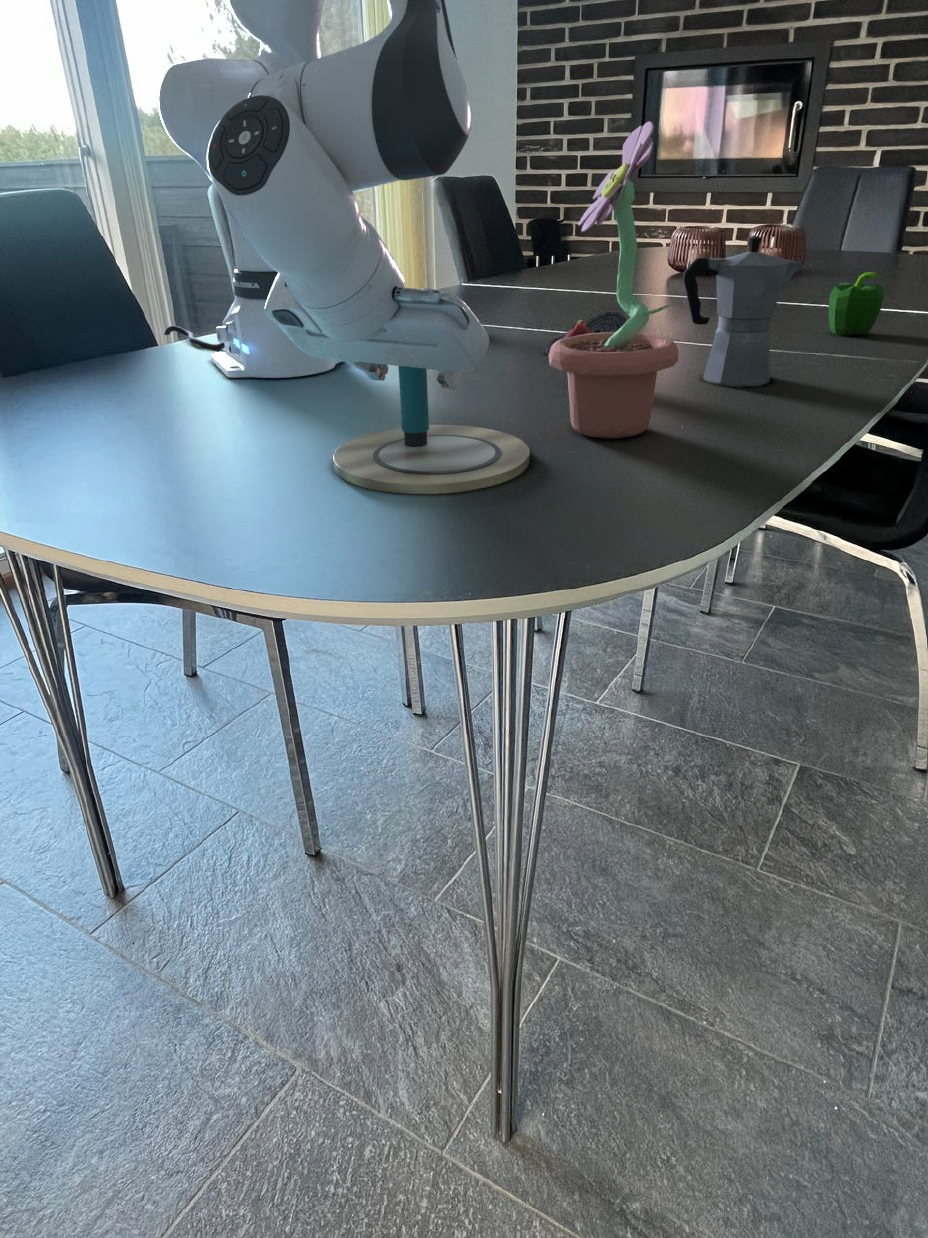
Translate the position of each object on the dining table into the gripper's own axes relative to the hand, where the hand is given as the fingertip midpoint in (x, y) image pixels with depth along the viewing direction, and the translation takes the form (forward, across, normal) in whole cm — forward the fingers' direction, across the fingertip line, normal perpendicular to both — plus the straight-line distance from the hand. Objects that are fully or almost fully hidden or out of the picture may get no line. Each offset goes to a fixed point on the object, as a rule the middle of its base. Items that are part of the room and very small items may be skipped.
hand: (415, 378), depth 85 cm
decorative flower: (+17, -15, -6) cm, 24 cm away
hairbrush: (+51, +7, -40) cm, 65 cm away
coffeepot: (+39, -21, -28) cm, 52 cm away
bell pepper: (+69, -31, -58) cm, 95 cm away
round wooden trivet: (+4, -3, +7) cm, 8 cm away
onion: (+32, -2, -21) cm, 39 cm away
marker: (+4, 0, +5) cm, 7 cm away
